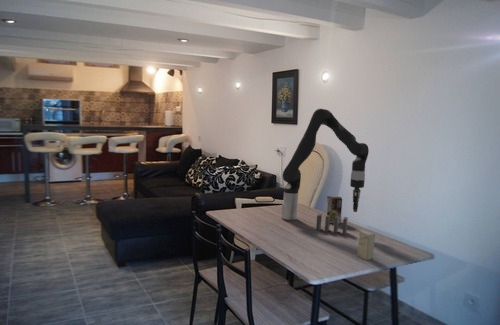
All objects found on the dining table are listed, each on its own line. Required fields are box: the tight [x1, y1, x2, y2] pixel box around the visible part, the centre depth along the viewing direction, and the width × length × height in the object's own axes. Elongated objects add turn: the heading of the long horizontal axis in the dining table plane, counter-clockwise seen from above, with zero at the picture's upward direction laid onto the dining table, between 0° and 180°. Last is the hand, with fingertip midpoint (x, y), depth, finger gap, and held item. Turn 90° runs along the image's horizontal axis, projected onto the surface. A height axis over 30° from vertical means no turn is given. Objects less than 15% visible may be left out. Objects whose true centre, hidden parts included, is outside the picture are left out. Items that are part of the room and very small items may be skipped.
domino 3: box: [333, 216, 339, 234], centre depth 223 cm, size 2×5×9 cm, turn 160°
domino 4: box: [341, 216, 349, 236], centre depth 221 cm, size 2×5×9 cm, turn 160°
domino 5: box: [352, 199, 359, 213], centre depth 218 cm, size 2×5×9 cm, turn 159°
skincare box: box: [357, 230, 376, 261], centre depth 182 cm, size 6×4×12 cm
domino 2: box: [324, 215, 331, 233], centre depth 225 cm, size 2×5×9 cm, turn 159°
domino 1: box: [315, 213, 323, 232], centre depth 226 cm, size 2×5×9 cm, turn 159°
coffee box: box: [325, 195, 343, 225], centre depth 246 cm, size 9×6×16 cm
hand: (355, 208), depth 218 cm, fingers closed on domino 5, 5 cm apart
